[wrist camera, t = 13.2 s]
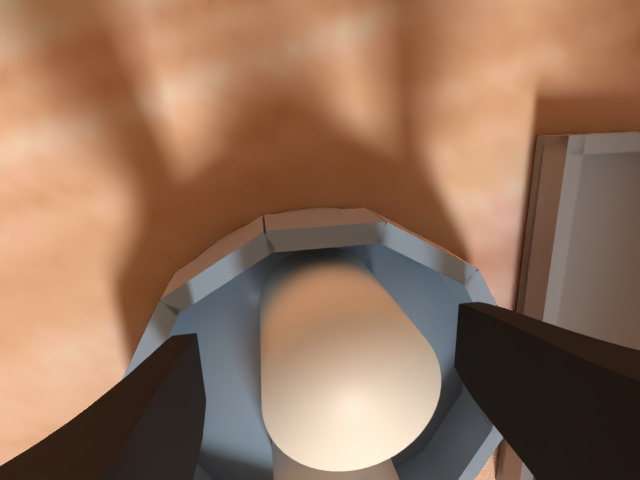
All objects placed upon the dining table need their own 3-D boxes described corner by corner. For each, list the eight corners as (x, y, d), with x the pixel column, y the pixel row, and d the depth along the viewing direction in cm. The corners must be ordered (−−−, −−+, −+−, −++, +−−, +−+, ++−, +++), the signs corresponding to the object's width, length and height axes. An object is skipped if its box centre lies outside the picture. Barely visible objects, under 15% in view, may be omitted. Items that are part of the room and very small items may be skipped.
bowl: (460, 469, 17) (495, 527, 14) (172, 521, 15) (156, 597, 13) (484, 195, 13) (535, 210, 11) (115, 220, 12) (77, 244, 9)
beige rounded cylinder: (375, 348, 14) (435, 457, 9) (263, 361, 13) (267, 484, 9) (378, 242, 13) (447, 304, 8) (255, 250, 12) (254, 323, 7)
